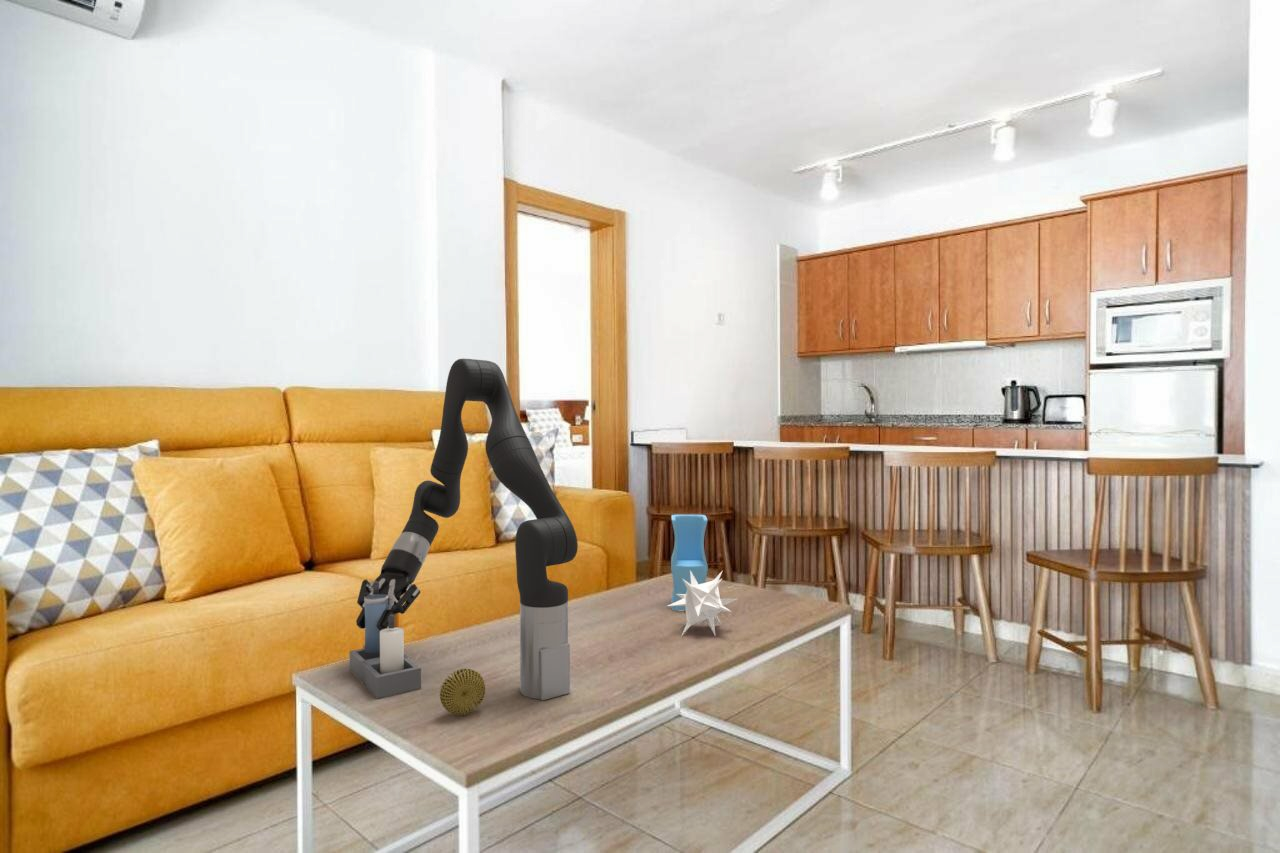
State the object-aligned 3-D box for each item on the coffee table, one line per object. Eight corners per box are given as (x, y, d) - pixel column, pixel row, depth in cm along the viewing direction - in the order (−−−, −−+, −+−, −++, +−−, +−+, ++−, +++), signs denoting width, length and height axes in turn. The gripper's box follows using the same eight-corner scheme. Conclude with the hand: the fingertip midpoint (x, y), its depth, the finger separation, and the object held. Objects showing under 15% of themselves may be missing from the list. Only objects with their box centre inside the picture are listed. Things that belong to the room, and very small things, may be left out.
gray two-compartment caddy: (421, 688, 138) (420, 615, 138) (376, 698, 133) (376, 623, 132) (390, 661, 153) (390, 596, 153) (349, 670, 148) (349, 602, 147)
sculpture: (481, 705, 130) (481, 662, 129) (488, 713, 126) (488, 669, 126) (437, 714, 126) (437, 669, 126) (442, 723, 122) (442, 677, 122)
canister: (390, 650, 146) (390, 581, 146) (368, 654, 144) (368, 585, 143) (383, 644, 150) (383, 577, 150) (361, 648, 147) (361, 580, 147)
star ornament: (752, 636, 172) (752, 577, 171) (708, 649, 163) (708, 587, 162) (697, 615, 188) (697, 561, 187) (654, 626, 179) (654, 569, 178)
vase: (671, 611, 193) (671, 519, 192) (671, 601, 202) (671, 514, 202) (707, 611, 192) (707, 519, 192) (705, 601, 202) (705, 514, 202)
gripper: (371, 545, 156) (331, 615, 144) (427, 550, 151) (390, 622, 140) (387, 564, 161) (350, 633, 150) (441, 569, 156) (407, 640, 145)
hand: (370, 627), depth 145 cm, fingers closed on canister, 4 cm apart
